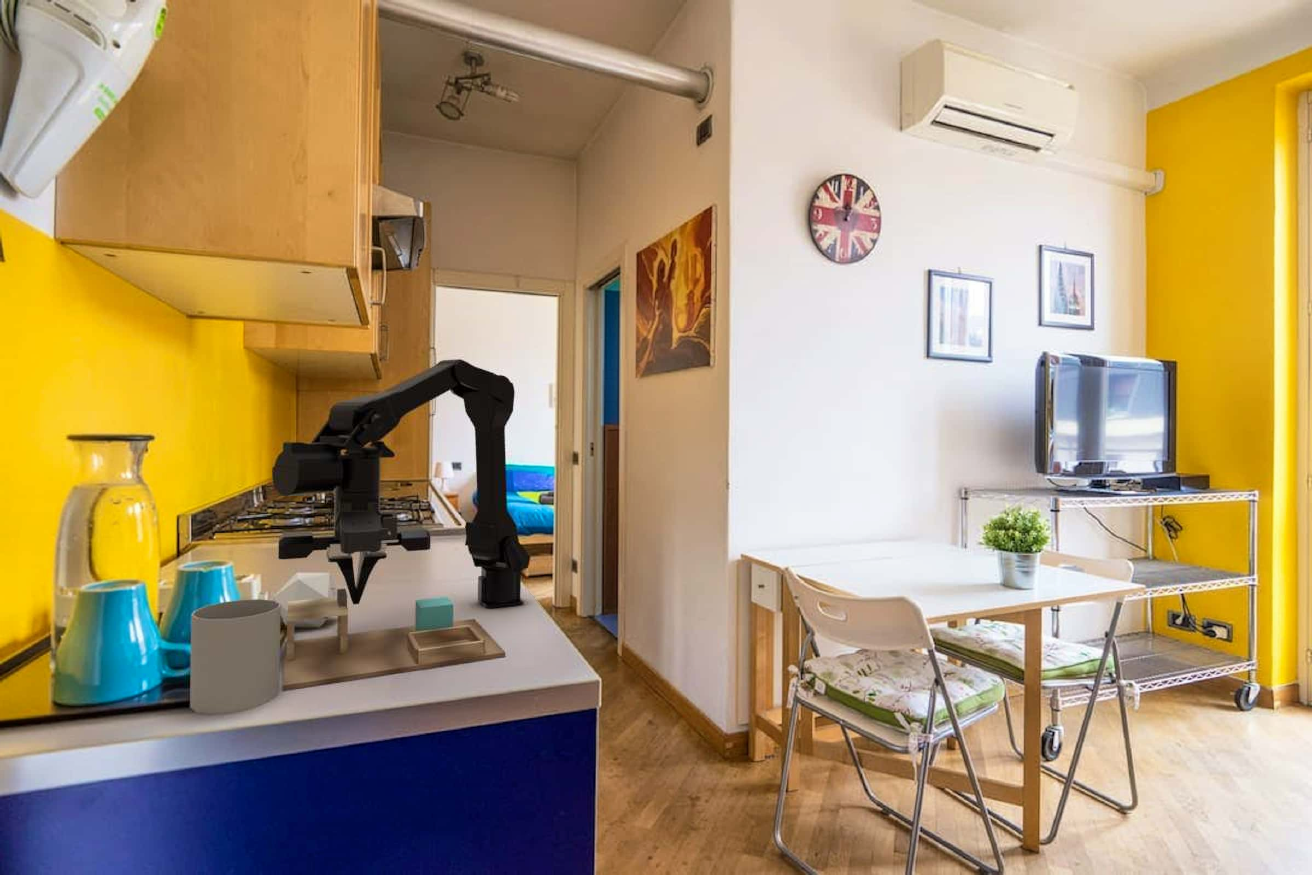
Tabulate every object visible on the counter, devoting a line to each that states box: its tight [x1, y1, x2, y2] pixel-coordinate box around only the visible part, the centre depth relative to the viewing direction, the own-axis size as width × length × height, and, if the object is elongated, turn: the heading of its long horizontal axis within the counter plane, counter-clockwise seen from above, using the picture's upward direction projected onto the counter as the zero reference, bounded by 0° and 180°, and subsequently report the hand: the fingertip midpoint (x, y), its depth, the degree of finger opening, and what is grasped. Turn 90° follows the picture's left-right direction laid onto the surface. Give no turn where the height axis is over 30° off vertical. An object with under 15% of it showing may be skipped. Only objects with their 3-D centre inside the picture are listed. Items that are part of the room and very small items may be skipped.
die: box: [272, 572, 338, 628], centre depth 100 cm, size 8×9×10 cm
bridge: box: [286, 588, 349, 660], centre depth 88 cm, size 7×8×7 cm
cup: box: [189, 598, 281, 715], centre depth 73 cm, size 8×8×10 cm
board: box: [282, 618, 506, 692], centre depth 89 cm, size 26×17×2 cm, turn 119°
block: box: [414, 596, 454, 632], centre depth 95 cm, size 4×4×4 cm
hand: (355, 603), depth 90 cm, fingers closed
